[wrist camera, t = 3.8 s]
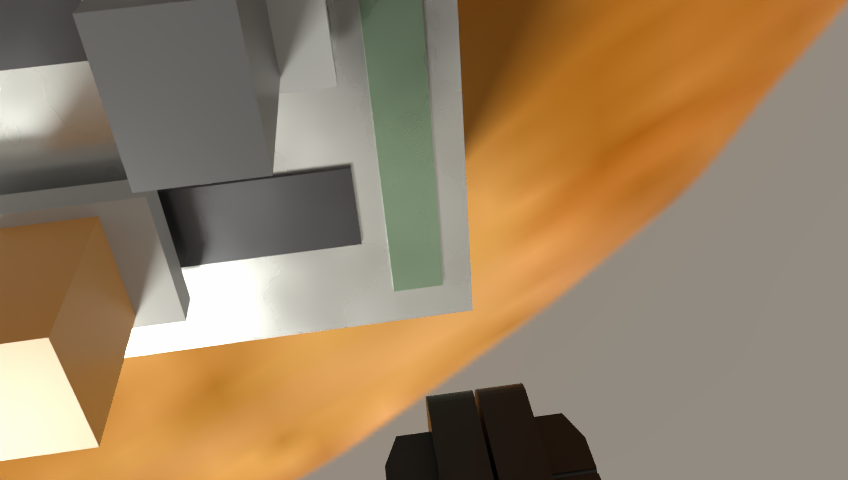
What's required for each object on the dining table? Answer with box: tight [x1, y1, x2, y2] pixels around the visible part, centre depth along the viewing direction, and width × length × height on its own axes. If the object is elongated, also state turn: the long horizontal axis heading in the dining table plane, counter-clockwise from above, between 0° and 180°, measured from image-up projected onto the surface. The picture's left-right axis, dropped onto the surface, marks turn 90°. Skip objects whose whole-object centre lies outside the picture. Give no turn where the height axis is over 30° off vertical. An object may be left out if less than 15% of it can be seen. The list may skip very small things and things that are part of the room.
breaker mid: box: [72, 0, 337, 193], centre depth 12 cm, size 3×4×4 cm
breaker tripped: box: [0, 180, 191, 461], centre depth 15 cm, size 3×4×4 cm
